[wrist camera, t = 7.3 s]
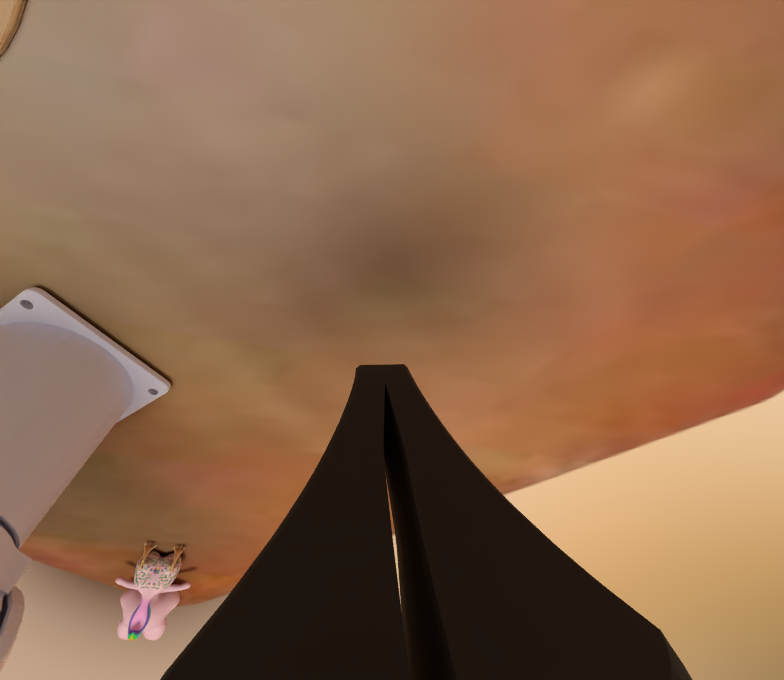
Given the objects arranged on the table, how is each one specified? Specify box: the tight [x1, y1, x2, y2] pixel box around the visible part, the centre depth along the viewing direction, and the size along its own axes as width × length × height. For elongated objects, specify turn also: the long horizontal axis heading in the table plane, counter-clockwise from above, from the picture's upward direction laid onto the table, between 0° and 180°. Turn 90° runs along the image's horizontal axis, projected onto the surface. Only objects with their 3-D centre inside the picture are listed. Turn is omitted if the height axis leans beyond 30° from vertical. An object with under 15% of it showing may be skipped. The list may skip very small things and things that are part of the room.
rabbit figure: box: [116, 542, 191, 641], centre depth 32 cm, size 6×6×15 cm
